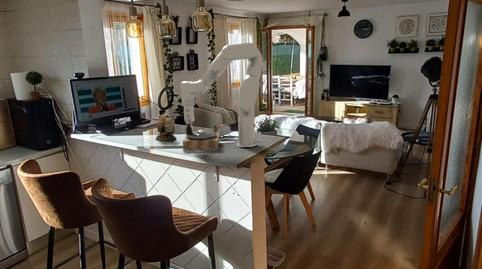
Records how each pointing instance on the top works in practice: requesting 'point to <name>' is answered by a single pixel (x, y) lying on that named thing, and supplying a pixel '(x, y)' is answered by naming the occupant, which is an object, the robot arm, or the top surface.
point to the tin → (222, 129)
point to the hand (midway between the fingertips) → (189, 132)
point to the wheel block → (200, 143)
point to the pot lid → (201, 134)
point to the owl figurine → (165, 129)
